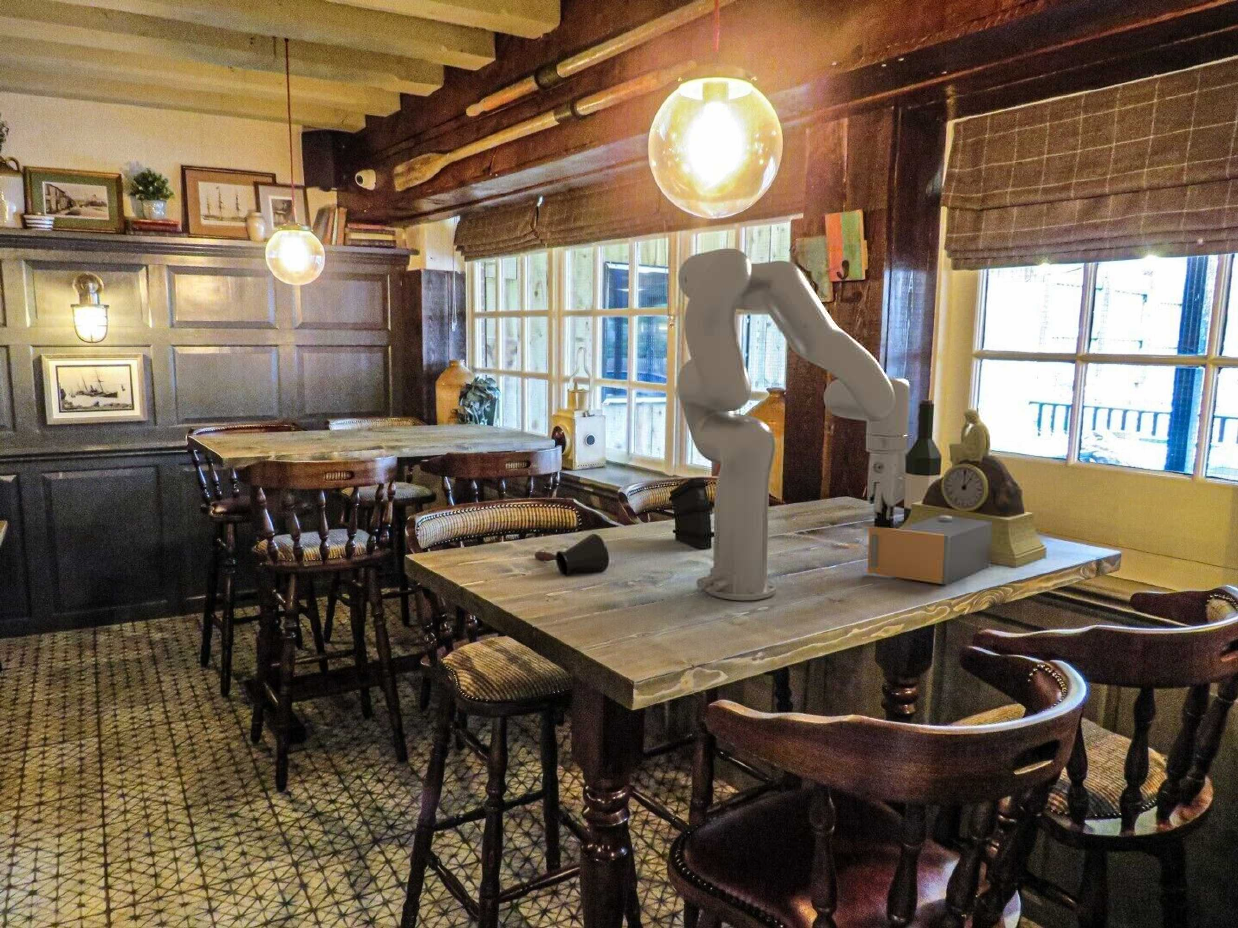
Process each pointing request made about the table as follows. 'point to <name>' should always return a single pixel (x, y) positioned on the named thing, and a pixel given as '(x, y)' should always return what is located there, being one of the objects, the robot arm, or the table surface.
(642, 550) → the table surface
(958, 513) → the decorative clock
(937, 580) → the side door
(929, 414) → the wine bottle
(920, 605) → the table surface
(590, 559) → the coffee pot
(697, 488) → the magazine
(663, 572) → the table surface
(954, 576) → the grey box with knob
